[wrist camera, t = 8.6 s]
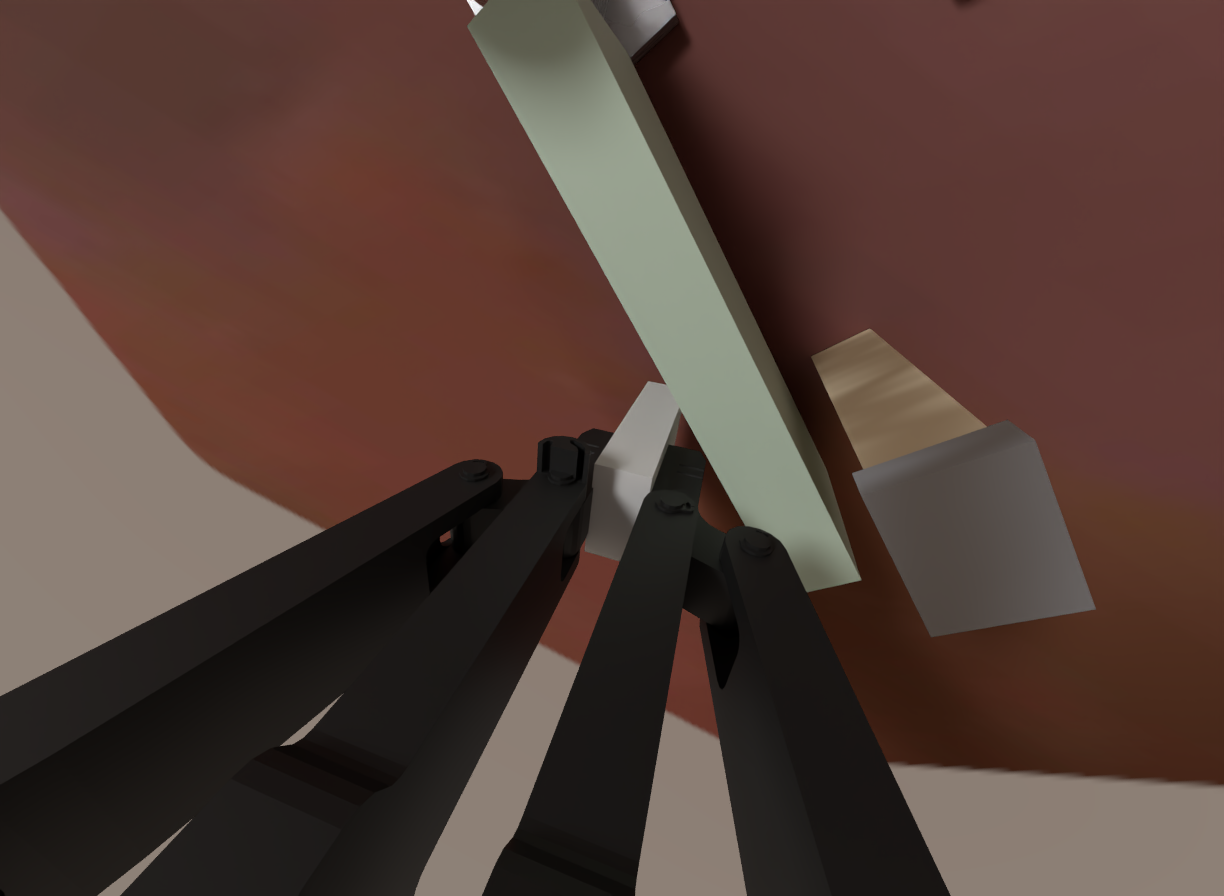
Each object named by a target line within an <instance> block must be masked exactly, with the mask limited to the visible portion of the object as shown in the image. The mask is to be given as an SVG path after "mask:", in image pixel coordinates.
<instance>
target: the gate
mask: <svg viewBox="0 0 1224 896" xmlns="http://www.w3.org/2000/svg"><path fill="white" fill-rule="evenodd" d="M467 27H468V29H469V30H470V32H471V34H472V36H473V38H474V39H475V41H476V43H477V45H478V47H479V48H480V50H481V52H482V54H483V56H484V57H485V59H486V61H487V63H488V65H489V66H490V68H491V70H492V72H493V74H494V75H495V77H496V79H497V81H498V83H499V84H500V86H501V88H502V90H503V92H504V93H505V95H506V97H507V99H508V101H509V102H510V104H511V106H512V108H513V110H514V111H515V113H516V115H517V117H518V119H519V120H520V122H521V124H522V126H523V127H524V129H525V131H526V133H527V135H528V136H529V138H530V140H531V142H532V144H533V145H534V147H535V149H536V151H537V153H538V154H539V156H540V158H541V160H542V162H543V163H544V165H545V167H546V169H547V171H548V172H549V174H550V176H551V178H552V180H553V181H554V183H555V185H556V187H557V189H558V190H559V192H560V194H561V196H562V198H563V199H564V201H565V203H566V205H567V207H568V208H569V210H570V212H571V214H572V216H573V217H574V219H575V221H576V223H577V225H578V226H579V228H580V230H581V232H582V233H583V235H584V237H585V239H586V241H587V242H588V244H589V246H590V248H591V250H592V251H593V253H594V255H595V257H596V259H597V260H598V262H599V264H600V266H601V268H602V269H603V271H604V273H605V275H606V277H607V278H608V280H609V282H610V284H611V286H612V287H613V289H614V291H615V293H616V295H617V296H618V298H619V300H620V302H621V304H622V305H623V307H624V309H625V311H626V313H627V314H628V316H629V318H630V320H631V322H632V323H633V325H634V327H635V329H636V331H637V332H638V334H639V336H640V338H641V340H642V341H643V343H644V345H645V347H646V348H647V350H648V352H649V354H650V356H651V357H652V359H653V361H654V363H655V365H656V366H657V368H658V370H659V372H660V374H661V375H662V377H663V379H664V381H665V383H666V384H667V386H668V388H669V390H670V392H671V393H672V395H673V397H674V399H675V401H676V402H677V404H678V406H679V408H680V410H681V411H682V413H683V415H684V417H685V419H686V420H687V422H688V424H689V426H690V428H691V429H692V431H693V433H694V435H695V437H696V438H697V440H698V442H699V444H700V446H701V447H702V449H703V451H704V453H705V454H706V456H707V458H708V460H709V462H710V463H711V465H712V467H713V469H714V471H715V472H716V474H717V476H718V478H719V480H720V481H721V483H722V485H723V487H724V489H725V490H726V492H727V494H728V496H729V498H730V499H731V501H732V503H733V505H734V507H735V508H736V510H737V512H738V514H739V516H740V517H741V519H742V521H743V523H744V525H745V526H750V527H754V528H758V529H761V530H763V531H766V532H768V533H770V534H772V535H773V536H774V537H776V538H777V539H778V540H780V541H781V543H782V544H783V545H784V547H785V548H786V550H787V552H788V554H789V556H790V558H791V560H792V563H793V565H794V567H795V569H796V571H797V573H798V575H799V577H800V579H801V582H802V584H803V586H804V588H805V590H806V592H810V591H815V590H820V589H824V588H829V587H833V586H838V585H842V584H847V583H851V582H856V581H860V580H861V577H860V574H859V571H858V568H857V565H856V561H855V558H854V555H853V552H852V549H851V546H850V542H849V539H848V536H847V533H846V530H845V526H844V523H843V520H842V517H841V514H840V510H839V507H838V504H837V501H836V498H835V494H834V491H833V488H832V485H831V482H830V478H829V475H828V472H827V469H826V467H825V465H824V463H823V461H822V459H821V457H820V455H819V453H818V451H817V448H816V446H815V444H814V442H813V440H812V438H811V436H810V434H809V432H808V430H807V428H806V425H805V423H804V421H803V419H802V417H801V415H800V413H799V411H798V409H797V407H796V404H795V402H794V400H793V398H792V396H791V394H790V392H789V390H788V388H787V386H786V384H785V381H784V379H783V377H782V375H781V373H780V371H779V369H778V367H777V365H776V363H775V360H774V358H773V356H772V354H771V352H770V350H769V348H768V346H767V344H766V342H765V340H764V337H763V335H762V333H761V331H760V329H759V327H758V325H757V323H756V321H755V319H754V316H753V314H752V312H751V310H750V308H749V306H748V304H747V302H746V300H745V298H744V296H743V293H742V291H741V289H740V287H739V285H738V283H737V281H736V279H735V277H734V275H733V272H732V270H731V268H730V266H729V264H728V262H727V260H726V258H725V256H724V254H723V252H722V249H721V247H720V245H719V243H718V241H717V239H716V237H715V235H714V233H713V231H712V229H711V226H710V224H709V222H708V220H707V218H706V216H705V214H704V212H703V210H702V208H701V205H700V203H699V201H698V199H697V197H696V195H695V193H694V191H693V189H692V187H691V185H690V182H689V180H688V178H687V176H686V174H685V172H684V170H683V168H682V166H681V164H680V161H679V159H678V157H677V155H676V153H675V151H674V149H673V147H672V145H671V143H670V141H669V138H668V136H667V134H666V132H665V130H664V128H663V126H662V124H661V122H660V120H659V117H658V115H657V113H656V111H655V109H654V107H653V105H652V103H651V101H650V99H649V97H648V94H647V92H646V90H645V88H644V86H643V84H642V82H641V80H640V78H639V76H638V73H637V71H636V69H635V67H634V65H633V63H632V61H631V59H630V57H629V55H628V53H627V51H626V50H625V49H624V47H623V46H622V44H621V43H620V41H619V40H618V39H617V37H616V36H615V34H614V33H613V31H612V30H611V29H610V27H609V26H608V24H607V23H606V21H605V20H604V19H603V17H602V16H601V14H600V13H599V12H598V10H597V9H596V7H595V6H594V4H593V3H592V2H591V0H488V2H487V3H486V4H485V5H484V6H483V8H482V9H481V10H480V11H479V12H478V14H477V15H476V16H475V17H474V18H473V20H472V21H471V22H470V23H469V24H468V25H467Z"/></svg>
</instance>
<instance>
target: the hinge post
mask: <svg viewBox="0 0 1224 896" xmlns="http://www.w3.org/2000/svg"><path fill="white" fill-rule="evenodd" d="M467 1H468V3H469V5H470V7H471V8H472V10H473V12H474V14H475V15H477V14H478V12H479V11H480V10H481V9H482V8H483V6H484V5H485V4H486V3H487V2H488V0H467ZM591 2H592V3H593V4H594V6H595V7H596V9H597V10H598V12H599V13H600V14H601V16H602V17H603V19H604V20H605V21H606V23H607V24H608V26H609V27H610V29H611V30H612V31H613V33H614V34H615V36H616V37H617V39H618V40H619V41H620V43H621V44H622V46H623V47H624V49H625V50H626V51H627V53H628V55H629V57H630V59H631V61H632V63H633V65H635V64H636V63H637V62H638V61H639V60H640V59H641V58H642V57H643V56H644V55H645V54H646V53H647V52H648V51H649V50H650V49H652V48H653V47H654V46H655V45H656V44H657V43H658V42H659V41H660V40H661V39H662V38H663V37H664V36H665V35H666V34H667V33H668V32H670V31H671V30H672V29H673V28H674V27H675V26H676V25H677V24H678V23H679V21H678V18H677V15H676V13H675V11H674V9H673V7H672V4H671V2H670V0H591Z"/></svg>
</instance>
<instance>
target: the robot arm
mask: <svg viewBox="0 0 1224 896" xmlns="http://www.w3.org/2000/svg"><path fill="white" fill-rule="evenodd" d="M680 416H681V410H680V408H679V406H678V404H677V402H676V401H675V399H674V397H673V395H672V393H671V392H670V390H669V388H668V386H667V385H664V384H660V383H655V382H650V381H648V382H647V384H646V385H645V387H644V389H643V390H642V392H641V393H640V395H639V396H638V398H637V399H636V401H635V402H634V404H633V405H632V407H631V408H630V410H629V412H628V413H627V415H626V416H625V418H624V419H623V421H622V422H621V424H620V425H619V427H618V428H617V430H616V431H615V433H612V432H607V431H603V430H598V429H594V428H593V429H591V430H589V431H586V432H584V433H582V434H581V435H580V437H579V438H578V439H576V438H573V437H566V436H553V437H549V438H545V439H543V440H541V441H540V442H538V457H537V472H536V473H535V474H534V475H533V476H532V478H531V479H530V480H513V479H503V472H502V470H501V468H500V466H498V465H497V464H495V463H493V462H490V461H486V460H479V459H474V460H468V461H463V462H460V463H457V464H455V465H453V466H451V467H449V468H447V469H445V470H443V471H441V472H439V473H437V474H435V475H433V476H431V477H429V478H427V479H425V480H423V481H421V482H419V483H417V484H415V485H413V486H411V487H409V488H407V489H406V490H404V491H402V492H400V493H398V494H396V495H394V496H392V497H390V498H388V499H386V500H384V501H382V502H380V503H378V504H376V505H374V506H372V507H370V508H368V509H366V510H364V511H362V512H360V513H359V514H357V515H355V516H353V517H351V518H349V519H347V520H345V521H343V522H341V523H339V524H337V525H335V526H333V527H331V528H329V529H327V530H325V531H323V532H321V533H319V534H318V535H315V536H314V537H312V538H310V539H308V540H306V541H304V542H302V543H300V544H298V545H296V546H294V547H292V548H290V549H288V550H286V551H284V552H282V553H280V554H278V555H276V556H274V557H272V558H270V559H268V560H266V561H264V562H263V563H261V564H259V565H257V566H255V567H253V568H251V569H249V570H247V571H245V572H243V573H241V574H239V575H237V576H235V577H233V578H231V579H230V580H227V581H225V582H223V583H222V584H220V585H217V586H216V587H214V588H212V589H210V590H208V591H206V592H204V593H202V594H200V595H198V596H196V597H194V598H192V599H190V600H188V601H186V602H184V603H182V604H180V605H178V606H176V607H174V608H172V609H170V610H169V611H167V612H165V613H163V614H161V615H159V616H157V617H155V618H153V619H151V620H149V621H147V622H145V623H143V624H141V625H139V626H137V627H135V628H133V629H131V630H129V631H127V632H125V633H123V634H121V635H120V636H118V637H116V638H114V639H112V640H110V641H108V642H106V643H104V644H102V645H100V646H98V647H96V648H94V649H92V650H90V651H88V652H86V653H84V654H82V655H80V656H78V657H77V658H74V659H72V660H71V661H69V662H67V663H65V664H63V665H61V666H59V667H57V668H55V669H53V670H51V671H49V672H47V673H45V674H43V675H41V676H39V677H37V678H35V679H33V680H31V681H29V682H27V683H26V684H24V685H22V686H20V687H18V688H16V689H14V690H12V691H10V692H8V693H6V694H4V695H2V696H0V896H97V895H98V894H99V893H101V892H102V891H103V890H105V889H106V888H107V887H109V886H110V885H111V884H112V883H114V882H115V881H116V880H117V879H119V878H120V877H121V876H123V875H124V874H125V873H126V872H128V871H129V870H130V869H131V868H133V867H134V866H135V865H137V864H138V863H139V862H140V861H142V860H143V859H144V858H145V857H147V855H149V854H150V853H152V852H153V851H154V850H155V849H156V848H157V847H159V846H160V845H161V844H162V843H163V842H165V841H166V840H167V839H168V838H170V837H171V836H172V835H173V834H174V833H176V832H177V831H178V830H179V829H180V828H182V827H183V826H184V825H185V824H186V823H188V822H189V821H190V820H191V819H192V818H193V819H192V820H191V821H190V822H189V824H187V825H186V826H185V828H184V829H183V830H182V831H181V832H180V833H179V834H178V835H177V836H176V837H175V838H174V839H173V840H172V841H171V842H170V843H169V844H168V846H167V847H166V848H165V849H164V850H163V851H162V852H161V853H160V854H159V855H158V856H157V857H156V858H155V859H154V860H153V862H152V863H151V864H150V865H149V866H148V867H147V868H146V869H145V870H144V871H143V872H142V873H141V874H140V875H139V877H138V878H136V880H135V881H134V882H133V883H132V884H131V885H130V886H129V887H128V888H127V889H126V890H125V891H124V892H123V893H122V894H121V895H120V896H414V894H415V890H416V887H417V884H418V882H419V879H420V876H421V874H422V872H423V870H424V867H425V866H426V863H427V862H428V859H429V858H430V856H431V854H432V852H433V850H434V848H435V845H436V844H437V841H438V839H439V838H440V836H441V834H442V832H443V830H444V828H445V826H446V824H447V822H448V820H449V818H450V816H451V814H452V812H453V810H454V808H455V806H456V804H457V802H458V800H459V798H460V796H461V794H462V792H463V790H464V788H465V786H466V785H467V782H468V780H469V778H470V776H471V775H472V773H473V771H474V769H475V767H476V765H477V763H478V761H479V759H480V756H481V755H482V753H483V751H484V749H485V747H486V745H487V743H488V741H489V739H490V737H491V735H492V733H493V731H494V729H495V727H496V725H497V723H498V721H499V719H500V717H501V715H502V713H503V711H504V709H505V707H506V706H507V704H508V702H509V699H510V698H511V695H512V694H513V692H514V690H515V688H516V686H517V684H518V682H519V680H520V678H521V676H522V674H523V672H524V670H525V668H526V666H527V664H528V662H529V660H530V658H531V656H532V654H533V652H534V650H535V648H536V646H537V644H538V642H539V640H540V638H541V636H542V634H543V632H544V631H545V629H546V627H547V625H548V623H549V621H550V619H551V617H552V615H553V613H554V611H555V609H556V607H557V605H558V603H559V601H560V599H561V597H562V595H563V593H564V591H565V589H566V587H567V585H568V583H569V581H570V579H571V577H572V575H573V573H574V571H575V569H576V567H577V565H578V562H579V556H580V548H581V546H582V544H583V542H584V540H585V538H586V543H585V551H586V552H589V553H593V554H596V555H600V556H603V557H607V558H610V559H614V560H617V561H620V562H619V565H618V568H617V570H616V573H615V576H614V578H613V581H612V583H611V586H610V589H609V591H608V594H607V597H606V599H605V602H604V604H603V607H602V610H601V612H600V615H599V617H598V620H597V623H596V625H595V628H594V631H593V633H592V636H591V638H590V641H589V644H588V646H587V649H586V651H585V654H584V657H583V659H582V662H581V665H580V667H579V670H578V672H577V675H576V678H575V680H574V683H573V686H572V688H571V691H570V693H569V696H568V699H567V701H566V704H565V706H564V709H563V712H562V714H561V717H560V720H559V722H558V725H557V727H556V730H555V733H554V735H553V738H552V740H551V743H550V746H549V748H548V751H547V754H546V756H545V759H544V761H543V764H542V767H541V769H540V772H539V774H538V777H537V780H536V782H535V785H534V788H533V790H532V793H531V795H530V798H529V801H528V804H527V806H526V809H525V811H524V814H523V816H522V819H521V821H520V823H519V826H518V828H517V830H516V832H515V834H514V836H513V838H512V839H511V840H510V841H509V843H508V844H507V845H506V846H505V847H504V849H503V851H502V853H501V855H500V856H499V858H498V860H497V862H496V864H495V866H494V869H493V871H492V873H491V876H490V878H489V881H488V883H487V885H486V887H485V890H484V892H483V894H482V896H635V886H636V879H637V872H638V866H639V860H640V854H641V848H642V842H643V836H644V831H645V825H646V818H647V813H648V807H649V801H650V795H651V789H652V784H653V778H654V771H655V765H656V760H657V754H658V748H659V742H660V737H661V731H662V724H663V719H664V713H665V707H666V701H667V695H668V689H669V684H670V678H671V672H672V666H673V660H674V654H675V648H676V642H677V637H678V631H679V625H680V619H681V613H682V608H683V609H685V610H687V611H688V612H690V613H692V614H693V615H695V616H697V617H698V618H700V631H701V637H702V643H703V648H704V654H705V660H706V665H707V671H708V677H709V682H710V688H711V694H712V699H713V705H714V711H715V716H716V722H717V728H718V733H719V739H720V745H721V750H722V756H723V762H724V767H725V773H726V779H727V784H728V790H729V796H730V801H731V807H732V813H733V818H734V824H735V829H736V836H737V841H738V847H739V852H740V858H741V864H742V870H743V875H744V881H745V886H746V892H747V896H950V893H949V891H948V889H947V887H946V885H945V883H944V881H943V879H942V877H941V874H940V872H939V870H938V868H937V866H936V864H935V862H934V860H933V858H932V856H931V853H930V851H929V849H928V847H927V845H926V843H925V841H924V839H923V837H922V834H921V832H920V830H919V828H918V826H917V824H916V822H915V820H914V818H913V816H912V813H911V811H910V809H909V807H908V805H907V803H906V801H905V799H904V797H903V794H902V792H901V790H900V788H899V786H898V784H897V782H896V780H895V778H894V775H893V774H892V771H891V769H890V767H889V765H888V763H887V761H886V759H885V756H884V754H883V752H882V750H881V748H880V746H879V744H878V742H877V740H876V737H875V735H874V733H873V731H872V729H871V727H870V725H869V723H868V721H867V719H866V716H865V714H864V712H863V710H862V708H861V706H860V704H859V702H858V700H857V697H856V695H855V693H854V691H853V689H852V687H851V685H850V683H849V681H848V678H847V676H846V674H845V672H844V670H843V668H842V666H841V664H840V662H839V660H838V657H837V655H836V653H835V651H834V649H833V647H832V645H831V643H830V641H829V638H828V636H827V634H826V632H825V630H824V628H823V626H822V624H821V622H820V619H819V617H818V615H817V613H816V611H815V609H814V607H813V605H812V603H811V600H810V598H809V596H808V594H807V592H806V590H805V588H804V586H803V584H802V582H801V579H800V577H799V575H798V573H797V571H796V569H795V567H794V565H793V563H792V560H791V558H790V556H789V554H788V552H787V550H786V548H785V547H784V545H783V544H782V543H781V541H780V540H778V539H777V538H776V537H774V536H773V535H772V534H770V533H768V532H766V531H763V530H761V529H758V528H754V527H750V526H737V527H735V528H732V529H730V530H729V531H728V532H727V534H725V533H723V532H721V531H719V530H717V529H716V528H714V527H712V526H711V525H709V524H708V523H707V522H706V521H705V520H704V519H703V518H702V517H701V516H700V513H699V511H698V503H699V497H700V491H701V486H702V480H703V474H704V469H705V463H706V460H705V459H704V457H703V455H702V453H701V452H700V451H695V450H691V449H687V448H682V447H678V446H674V445H675V440H676V435H677V431H678V426H679V421H680ZM449 530H450V534H451V538H449V539H448V540H446V541H444V542H442V543H441V542H440V536H442V535H443V534H445V533H446V532H448V531H449ZM342 694H343V695H342ZM341 695H342V696H341ZM339 696H341V697H340V698H339V699H338V700H337V702H336V703H335V704H334V705H333V706H332V707H331V708H330V710H329V711H328V712H327V713H326V714H325V715H324V717H323V718H322V719H321V720H320V721H319V722H318V723H317V724H316V726H315V727H314V728H313V729H312V730H311V731H310V732H309V733H308V734H307V735H306V736H305V737H304V738H303V739H301V740H299V741H298V742H296V743H295V744H292V745H286V746H280V745H282V744H283V743H284V742H285V741H286V740H287V739H289V738H290V737H291V736H292V735H293V734H295V733H296V732H297V731H298V730H299V729H301V728H302V727H303V726H304V725H306V724H307V723H308V722H309V721H310V720H312V718H314V717H315V716H316V715H318V714H319V713H320V712H321V711H322V710H324V709H325V708H326V707H327V706H328V705H330V704H331V703H332V702H333V701H334V700H335V699H337V698H338V697H339Z"/></svg>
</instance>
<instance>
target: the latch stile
mask: <svg viewBox="0 0 1224 896" xmlns="http://www.w3.org/2000/svg"><path fill="white" fill-rule="evenodd" d="M811 358H812V360H813V362H814V365H815V367H816V369H817V371H818V373H819V375H820V377H821V380H822V382H823V384H824V386H825V388H826V390H827V392H828V395H829V397H830V399H831V401H832V403H833V405H834V407H835V410H836V412H837V414H838V416H839V418H840V420H841V422H842V425H843V427H844V429H845V431H846V433H847V435H848V437H849V440H850V442H851V444H852V446H853V448H854V450H855V453H856V455H857V457H858V459H859V461H860V463H861V465H862V468H863V470H860V471H857V472H854V473H852V475H853V477H854V480H855V482H856V485H857V487H858V490H859V492H860V494H861V497H862V499H863V501H864V503H865V505H866V507H867V509H868V511H869V513H870V515H871V517H872V519H873V521H874V523H875V525H876V527H877V529H878V531H879V533H880V535H881V537H882V539H883V541H884V543H885V545H886V547H887V549H888V551H889V553H890V555H891V557H892V559H893V561H894V563H895V565H896V567H897V569H898V571H899V573H900V576H901V578H902V580H903V582H904V584H905V586H906V588H907V590H908V592H909V594H910V596H911V598H912V600H913V602H914V604H915V606H916V608H917V610H918V612H919V614H920V616H921V618H922V620H923V622H924V624H925V626H926V628H927V630H928V632H929V634H930V636H931V637H936V636H941V635H947V634H953V633H959V632H965V631H971V630H977V629H983V628H988V627H994V626H1000V625H1006V624H1012V623H1018V622H1024V621H1030V620H1035V619H1041V618H1047V617H1053V616H1059V615H1065V614H1071V613H1077V612H1082V611H1088V610H1094V609H1096V608H1095V605H1094V603H1093V600H1092V597H1091V594H1090V592H1089V589H1088V586H1087V583H1086V580H1085V578H1084V575H1083V572H1082V569H1081V567H1080V564H1079V561H1078V558H1077V555H1076V553H1075V550H1074V547H1073V544H1072V541H1071V539H1070V536H1069V533H1068V530H1067V528H1066V525H1065V522H1064V519H1063V516H1062V514H1061V511H1060V508H1059V505H1058V503H1057V500H1056V497H1055V494H1054V491H1053V489H1052V486H1051V483H1050V480H1049V478H1048V475H1047V472H1046V469H1045V466H1044V464H1043V461H1042V458H1041V455H1040V453H1039V450H1038V447H1037V444H1036V441H1035V440H1034V439H1033V438H1031V437H1030V436H1029V435H1027V434H1026V433H1025V432H1023V431H1022V430H1021V429H1019V428H1018V427H1017V426H1015V425H1014V424H1013V423H1011V422H1010V421H1009V420H1005V421H1003V422H1000V423H997V424H994V425H991V426H988V427H987V426H985V425H984V424H983V423H982V422H981V421H979V420H978V419H977V418H976V417H975V416H974V415H972V414H971V413H970V412H969V411H968V410H966V409H965V408H964V407H963V406H962V405H960V404H959V403H958V402H957V401H956V400H954V399H953V398H952V397H951V396H950V395H949V394H947V393H946V392H945V391H944V390H943V389H941V388H940V387H939V386H938V385H937V384H935V383H934V382H933V381H932V380H931V379H929V378H928V377H927V376H926V375H925V374H923V373H922V372H921V371H920V370H919V369H918V368H916V367H915V366H914V365H913V364H912V363H910V362H909V361H908V360H907V359H906V358H904V357H903V356H902V355H901V354H900V353H898V352H897V351H896V350H895V349H894V348H892V347H891V346H890V345H889V344H888V343H887V342H885V341H884V340H883V339H882V338H881V337H879V336H878V335H877V334H876V333H875V332H873V331H872V330H871V329H868V330H866V331H863V332H861V333H859V334H857V335H855V336H853V337H851V338H849V339H847V340H845V341H842V342H840V343H838V344H836V345H834V346H832V347H830V348H828V349H826V350H824V351H822V352H819V353H817V354H815V355H813V356H811Z"/></svg>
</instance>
